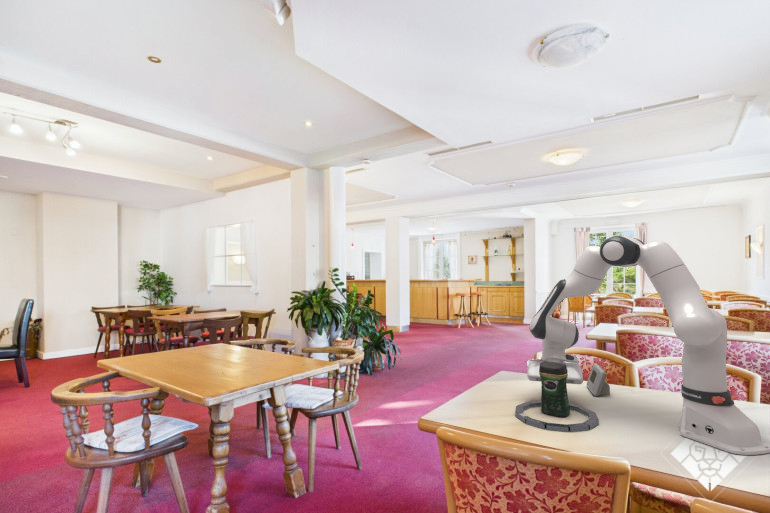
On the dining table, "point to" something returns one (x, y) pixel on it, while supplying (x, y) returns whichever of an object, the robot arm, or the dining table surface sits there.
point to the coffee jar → (554, 388)
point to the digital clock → (598, 381)
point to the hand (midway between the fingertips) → (554, 391)
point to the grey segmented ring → (583, 426)
